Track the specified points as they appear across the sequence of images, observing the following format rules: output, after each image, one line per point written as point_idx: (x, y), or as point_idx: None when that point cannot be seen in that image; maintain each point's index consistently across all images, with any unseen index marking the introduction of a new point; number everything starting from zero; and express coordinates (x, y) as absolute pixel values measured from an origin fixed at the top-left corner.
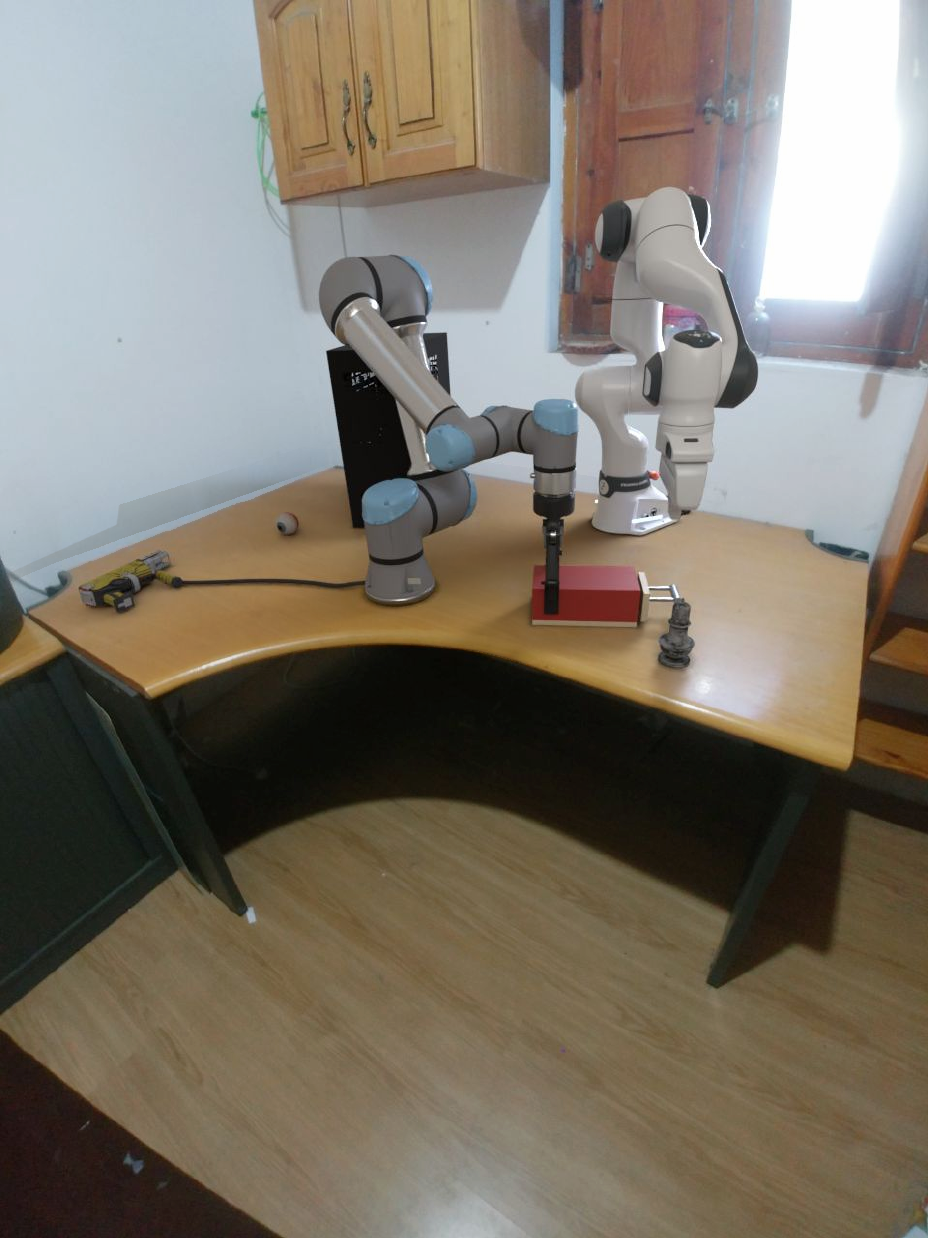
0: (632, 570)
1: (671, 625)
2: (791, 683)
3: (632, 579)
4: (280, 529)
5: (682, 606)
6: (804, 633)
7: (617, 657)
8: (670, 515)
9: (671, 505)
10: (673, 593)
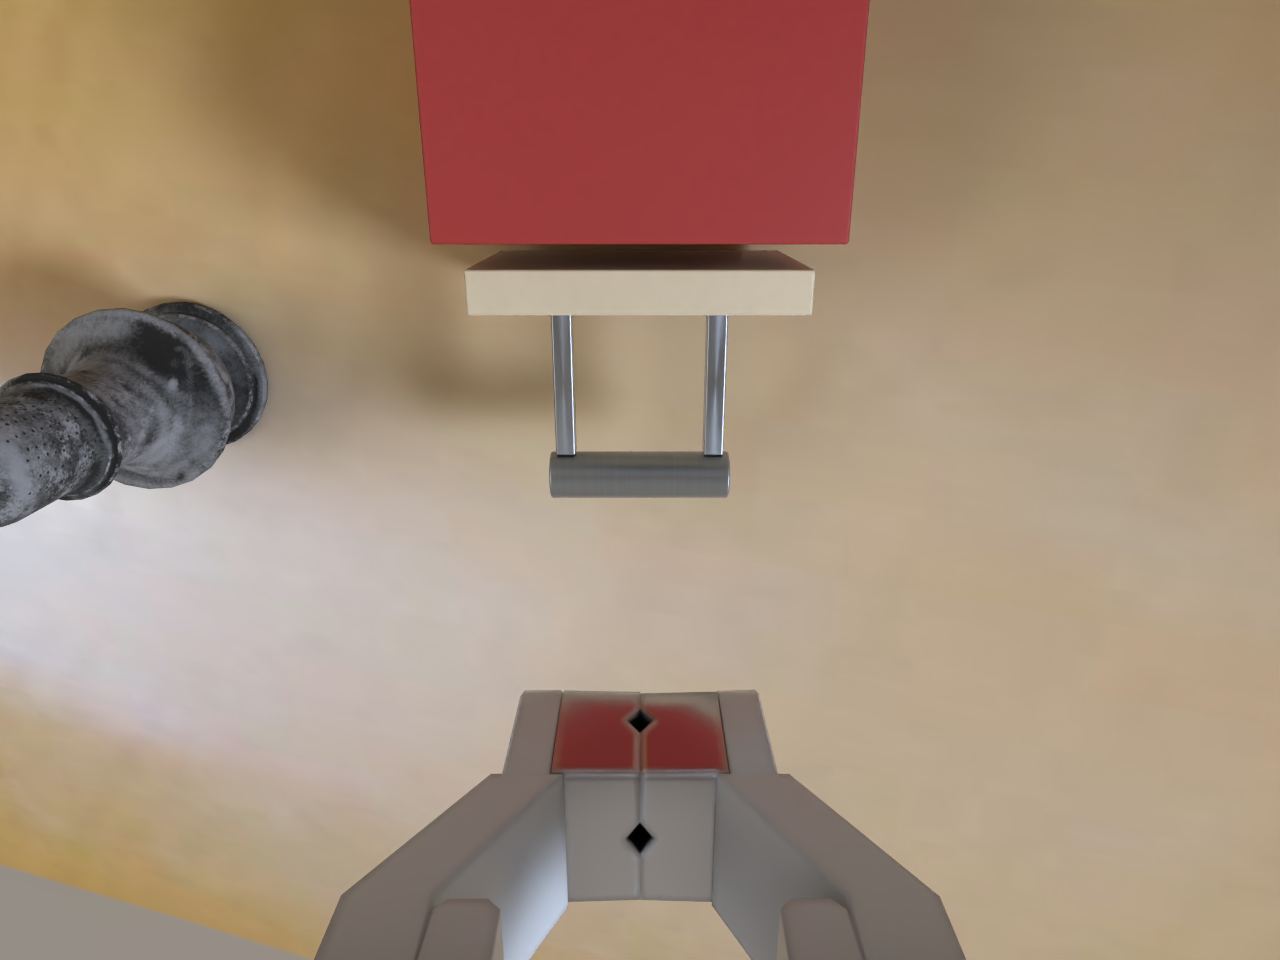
0: (772, 220)
1: (5, 385)
2: (139, 767)
3: (611, 203)
4: None
5: None
6: None
7: (148, 82)
8: (519, 716)
9: (425, 840)
10: (614, 466)
